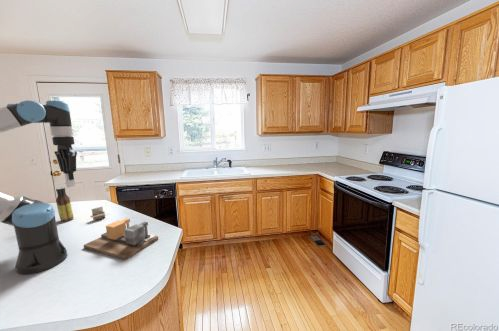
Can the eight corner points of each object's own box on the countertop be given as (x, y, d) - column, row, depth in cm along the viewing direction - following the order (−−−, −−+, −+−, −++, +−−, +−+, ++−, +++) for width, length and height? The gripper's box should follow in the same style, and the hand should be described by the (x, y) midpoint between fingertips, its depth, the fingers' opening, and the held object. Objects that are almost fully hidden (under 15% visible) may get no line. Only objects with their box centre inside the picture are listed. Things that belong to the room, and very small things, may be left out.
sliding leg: (115, 240, 100) (113, 227, 99) (107, 239, 102) (105, 225, 100) (133, 231, 108) (131, 219, 107) (126, 230, 110) (124, 217, 109)
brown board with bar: (125, 259, 90) (122, 238, 88) (84, 248, 99) (80, 228, 98) (158, 239, 106) (156, 221, 105) (120, 230, 116) (118, 214, 114)
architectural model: (106, 219, 133) (104, 207, 131) (92, 223, 127) (90, 211, 126) (104, 217, 135) (102, 206, 134) (90, 221, 130) (89, 209, 128)
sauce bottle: (72, 217, 136) (67, 185, 133) (75, 219, 132) (69, 187, 129) (58, 220, 131) (52, 188, 128) (61, 223, 127) (55, 190, 124)
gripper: (80, 135, 101) (88, 185, 105) (63, 135, 106) (71, 183, 110) (61, 136, 94) (70, 189, 98) (44, 136, 99) (53, 187, 103)
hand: (71, 186), depth 104 cm, fingers closed
